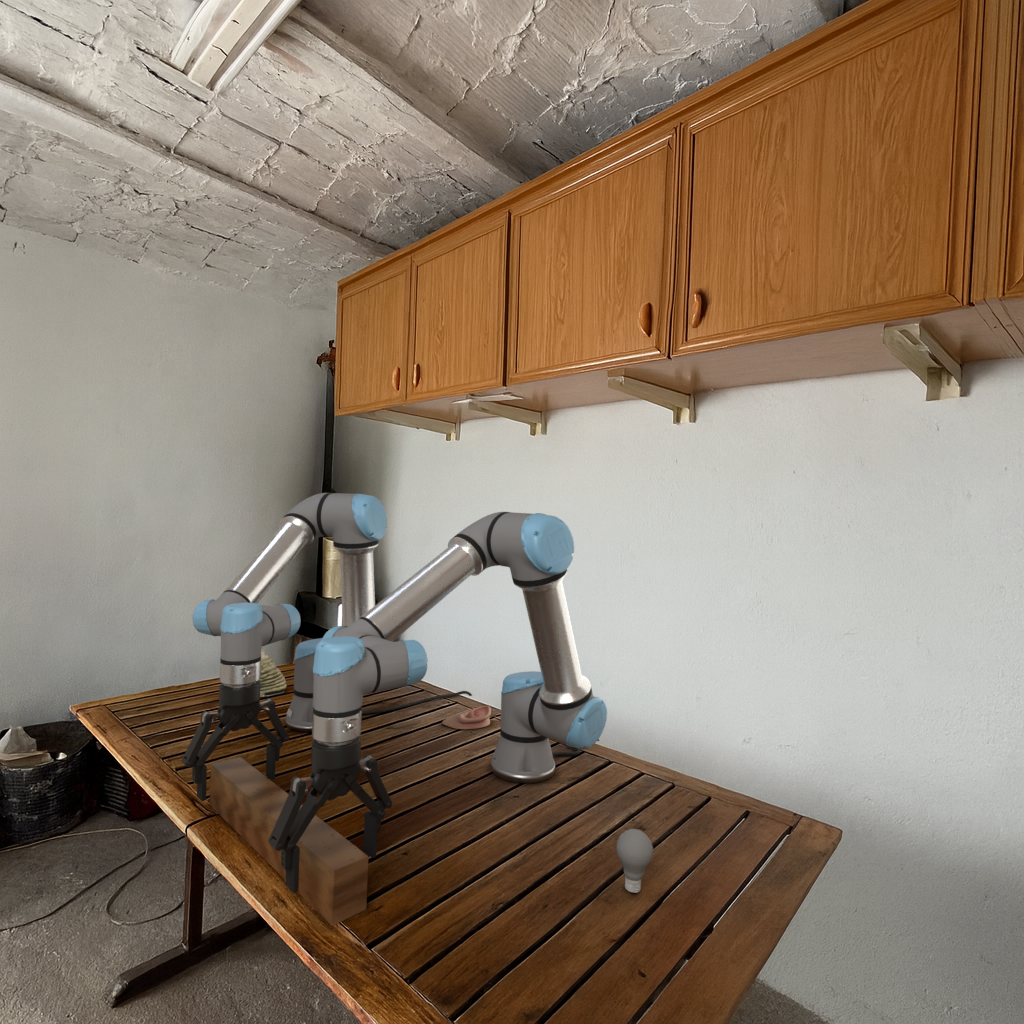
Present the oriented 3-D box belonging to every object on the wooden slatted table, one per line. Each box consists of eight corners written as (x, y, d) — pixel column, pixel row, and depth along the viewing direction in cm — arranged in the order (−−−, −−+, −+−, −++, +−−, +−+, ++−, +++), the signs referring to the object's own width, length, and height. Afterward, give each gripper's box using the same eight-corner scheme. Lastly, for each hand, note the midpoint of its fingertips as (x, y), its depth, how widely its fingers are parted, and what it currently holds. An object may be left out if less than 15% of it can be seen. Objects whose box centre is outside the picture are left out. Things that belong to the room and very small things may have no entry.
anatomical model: (438, 712, 177) (451, 700, 188) (438, 726, 177) (450, 713, 188) (484, 718, 174) (494, 705, 185) (484, 732, 174) (493, 718, 185)
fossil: (218, 695, 195) (220, 647, 195) (278, 685, 208) (279, 640, 207) (228, 703, 189) (230, 653, 188) (289, 692, 201) (290, 645, 201)
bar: (209, 804, 128) (210, 764, 128) (238, 796, 132) (240, 756, 132) (331, 926, 94) (334, 871, 94) (366, 909, 98) (368, 856, 98)
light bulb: (610, 879, 108) (613, 822, 108) (644, 879, 109) (647, 822, 109) (619, 902, 102) (622, 840, 102) (655, 901, 103) (658, 840, 103)
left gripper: (179, 699, 114) (176, 815, 115) (307, 675, 132) (304, 775, 133) (165, 689, 120) (162, 800, 120) (291, 667, 137) (288, 764, 138)
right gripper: (270, 767, 88) (265, 916, 89) (415, 725, 106) (411, 850, 106) (247, 750, 93) (243, 892, 94) (389, 713, 111) (385, 832, 112)
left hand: (237, 787), depth 126 cm, fingers open, 13 cm apart
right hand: (332, 870), depth 100 cm, fingers open, 13 cm apart
